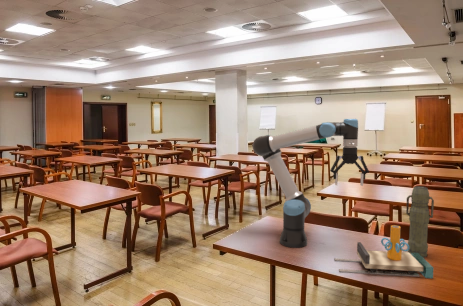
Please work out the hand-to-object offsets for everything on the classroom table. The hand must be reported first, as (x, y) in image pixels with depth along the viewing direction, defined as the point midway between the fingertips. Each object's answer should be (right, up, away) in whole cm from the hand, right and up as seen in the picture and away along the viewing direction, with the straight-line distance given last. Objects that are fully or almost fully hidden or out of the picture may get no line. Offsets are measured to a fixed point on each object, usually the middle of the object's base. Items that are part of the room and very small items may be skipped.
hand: (348, 185), depth 184 cm
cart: (+7, -36, -30) cm, 47 cm away
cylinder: (+10, -31, -31) cm, 45 cm away
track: (+4, -36, -29) cm, 46 cm away
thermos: (+30, -34, -14) cm, 48 cm away
